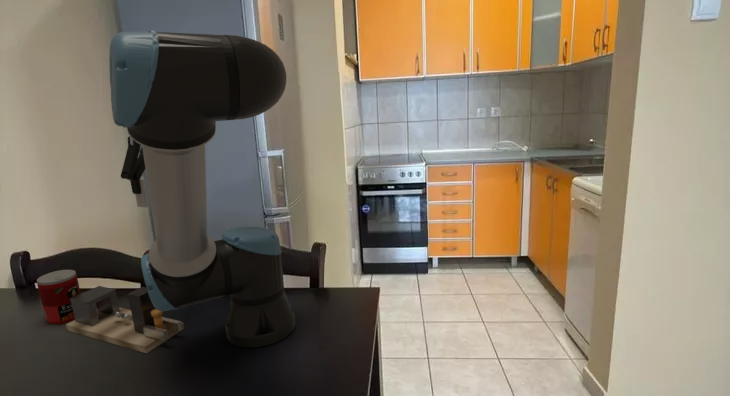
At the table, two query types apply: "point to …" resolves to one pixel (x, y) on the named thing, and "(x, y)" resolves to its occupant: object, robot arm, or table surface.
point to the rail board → (118, 332)
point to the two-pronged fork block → (147, 316)
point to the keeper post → (157, 318)
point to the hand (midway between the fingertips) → (166, 199)
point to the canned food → (58, 295)
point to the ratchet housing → (86, 304)
